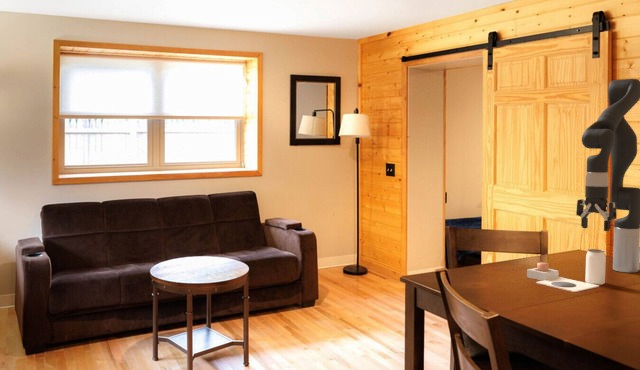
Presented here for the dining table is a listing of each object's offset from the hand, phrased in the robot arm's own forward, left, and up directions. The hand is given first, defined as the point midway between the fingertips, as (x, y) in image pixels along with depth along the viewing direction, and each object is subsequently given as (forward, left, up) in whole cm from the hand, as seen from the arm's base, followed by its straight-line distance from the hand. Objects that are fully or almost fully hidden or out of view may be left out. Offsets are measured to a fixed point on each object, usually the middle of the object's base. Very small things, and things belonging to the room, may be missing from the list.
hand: (595, 229), depth 222 cm
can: (-1, 0, -20) cm, 20 cm away
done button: (+8, -16, -18) cm, 25 cm away
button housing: (+8, -16, -20) cm, 27 cm away
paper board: (+10, -4, -20) cm, 22 cm away
